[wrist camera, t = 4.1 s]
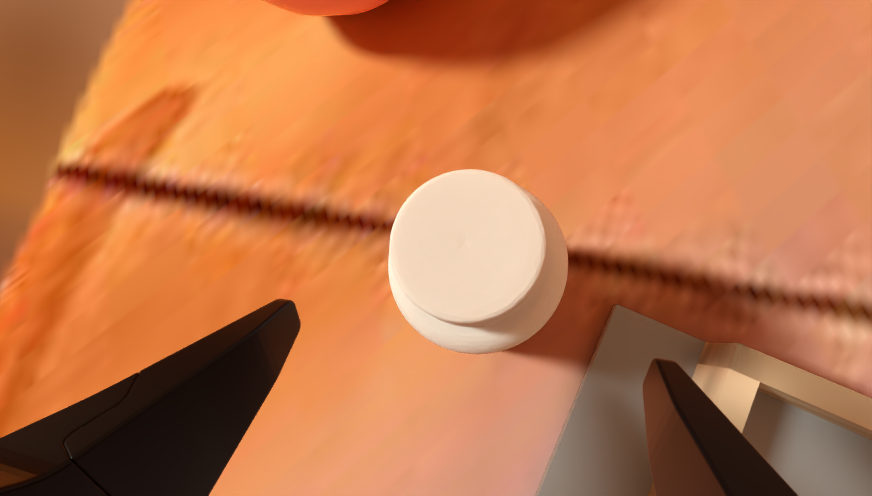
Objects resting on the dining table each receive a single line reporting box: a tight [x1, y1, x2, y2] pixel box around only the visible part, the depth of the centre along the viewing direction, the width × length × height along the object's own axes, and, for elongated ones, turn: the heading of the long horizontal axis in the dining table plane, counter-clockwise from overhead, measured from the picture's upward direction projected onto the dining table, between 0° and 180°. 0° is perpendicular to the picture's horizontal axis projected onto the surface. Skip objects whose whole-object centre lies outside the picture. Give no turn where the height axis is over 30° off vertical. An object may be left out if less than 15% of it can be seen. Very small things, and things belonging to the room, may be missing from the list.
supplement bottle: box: [388, 169, 568, 354], centre depth 14 cm, size 6×6×10 cm
